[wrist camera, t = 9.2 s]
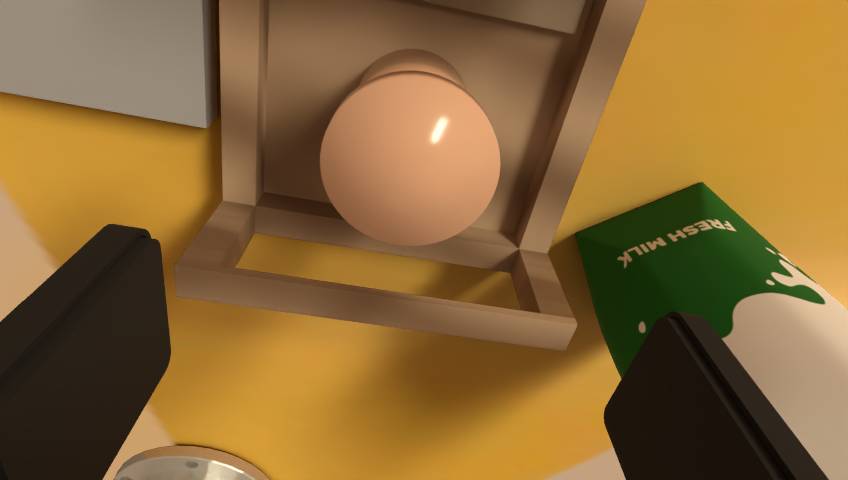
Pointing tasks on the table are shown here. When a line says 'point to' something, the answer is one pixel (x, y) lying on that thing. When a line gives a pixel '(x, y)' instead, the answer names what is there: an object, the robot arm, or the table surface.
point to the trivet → (114, 55)
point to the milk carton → (727, 307)
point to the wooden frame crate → (340, 75)
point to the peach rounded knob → (410, 152)
